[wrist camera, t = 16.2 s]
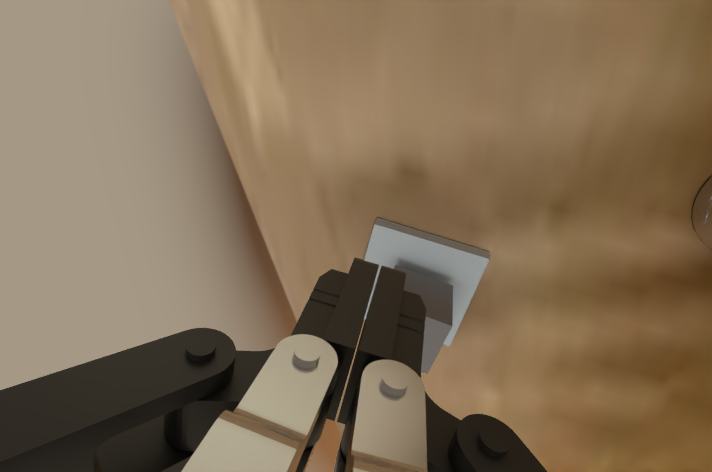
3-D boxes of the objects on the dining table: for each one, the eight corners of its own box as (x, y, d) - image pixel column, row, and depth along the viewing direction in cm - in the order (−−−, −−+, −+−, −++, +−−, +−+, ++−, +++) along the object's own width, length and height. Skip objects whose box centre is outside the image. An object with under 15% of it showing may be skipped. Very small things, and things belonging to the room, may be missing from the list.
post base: (488, 251, 42) (496, 303, 35) (449, 337, 48) (449, 398, 40) (376, 217, 43) (361, 261, 35) (351, 305, 48) (332, 360, 41)
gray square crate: (453, 285, 41) (452, 326, 36) (431, 329, 44) (427, 373, 38) (395, 264, 41) (386, 302, 36) (377, 310, 44) (366, 351, 39)
